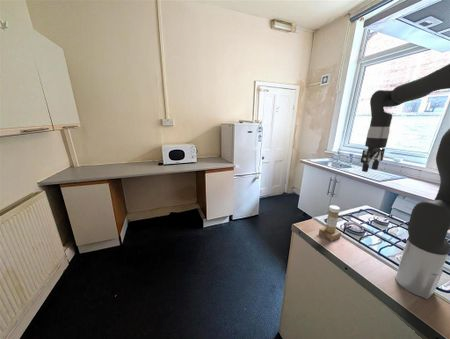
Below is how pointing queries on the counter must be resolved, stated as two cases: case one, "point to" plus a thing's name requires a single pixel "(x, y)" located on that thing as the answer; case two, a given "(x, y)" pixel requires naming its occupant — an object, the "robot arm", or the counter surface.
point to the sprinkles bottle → (332, 218)
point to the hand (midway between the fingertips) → (369, 170)
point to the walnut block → (329, 234)
